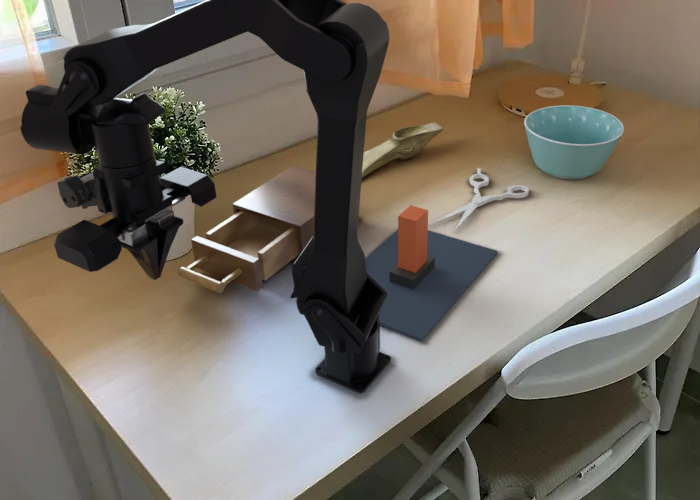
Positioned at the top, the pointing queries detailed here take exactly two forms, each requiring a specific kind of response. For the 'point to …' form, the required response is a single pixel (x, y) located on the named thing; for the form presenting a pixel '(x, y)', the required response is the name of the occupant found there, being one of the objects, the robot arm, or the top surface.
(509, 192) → the scissors
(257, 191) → the cabinet
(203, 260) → the drawer
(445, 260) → the mat
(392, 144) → the tool
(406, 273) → the stamp
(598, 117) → the bowl
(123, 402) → the top surface
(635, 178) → the top surface
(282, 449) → the top surface
